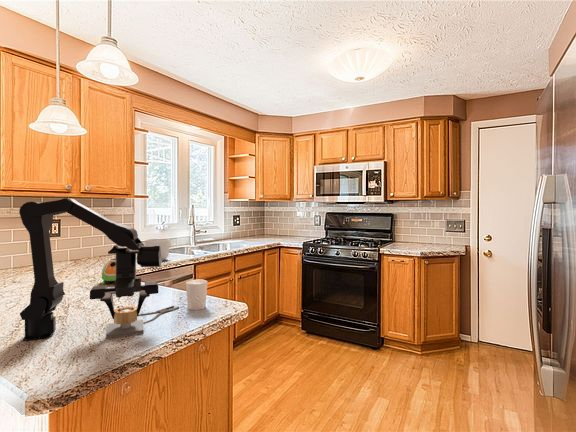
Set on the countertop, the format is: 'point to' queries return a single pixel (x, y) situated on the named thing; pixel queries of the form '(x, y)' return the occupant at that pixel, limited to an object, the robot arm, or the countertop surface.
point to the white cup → (196, 294)
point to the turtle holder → (109, 271)
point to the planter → (163, 246)
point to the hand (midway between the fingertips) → (125, 317)
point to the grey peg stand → (125, 328)
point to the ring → (125, 315)
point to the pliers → (159, 313)
